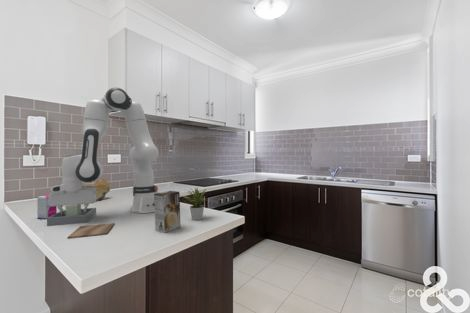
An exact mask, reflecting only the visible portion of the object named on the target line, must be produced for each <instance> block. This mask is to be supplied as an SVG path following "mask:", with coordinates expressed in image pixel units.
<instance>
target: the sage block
mask: <svg viewBox="0 0 470 313" xmlns="http://www.w3.org/2000/svg"><path fill="white" fill-rule="evenodd" d="M81 209H82V204H74V205H65V210H66V216H77V215H81Z"/></svg>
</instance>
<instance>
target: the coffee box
mask: <svg viewBox="0 0 470 313" xmlns="http://www.w3.org/2000/svg"><path fill="white" fill-rule="evenodd" d="M180 193H181V192H180V191H175V190H167V191H163V192H159V193H156V194H154V202H155V212H154V223H155V224H154V228H155V229H154V231H156V232H160V233H164V234H166V233H168V232H171V231H173V230H176V229H178V228H180V227H181V203H180V202H181V200H180V198H181V197H180V196H181V194H180Z"/></svg>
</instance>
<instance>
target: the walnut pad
mask: <svg viewBox="0 0 470 313" xmlns="http://www.w3.org/2000/svg"><path fill="white" fill-rule="evenodd" d="M115 225H116V223H115V222H111V223H109V222H108V223H100V224H90V225H89V224H87V225H80V226H79V227H78V228H76V229H75V230H74V231H73V232H72V233H70V234H69V235H68V236H67V239H76V238H77V239H78V238H85V237H86V238H88V237H94V236H95V237H96V236H104V235H108V234H109V233H110V231H111V230H112V229H113V228H114V226H115Z"/></svg>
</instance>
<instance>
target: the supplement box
mask: <svg viewBox="0 0 470 313" xmlns="http://www.w3.org/2000/svg"><path fill="white" fill-rule="evenodd" d="M48 198H49V194H46V195H42V196H40V195H39V196H37V210H36V211H37V219H38V220H47V218H49V217H50V216H52V215H54V214H56V213H58V211H57V209H58V206H49V204H48Z"/></svg>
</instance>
